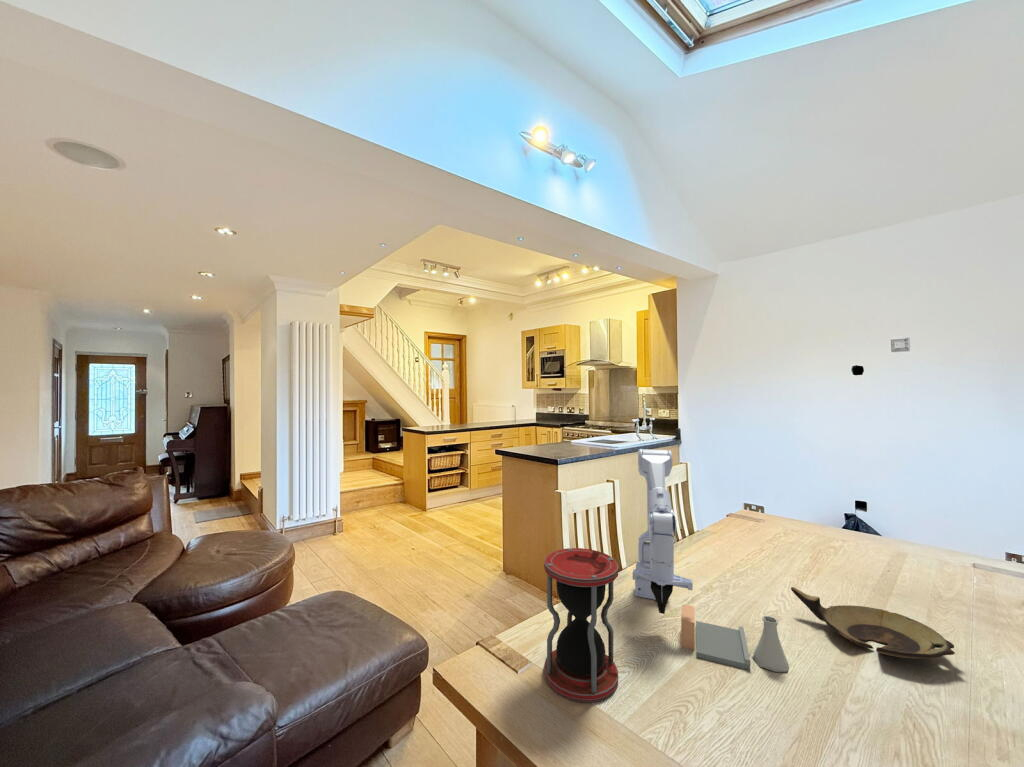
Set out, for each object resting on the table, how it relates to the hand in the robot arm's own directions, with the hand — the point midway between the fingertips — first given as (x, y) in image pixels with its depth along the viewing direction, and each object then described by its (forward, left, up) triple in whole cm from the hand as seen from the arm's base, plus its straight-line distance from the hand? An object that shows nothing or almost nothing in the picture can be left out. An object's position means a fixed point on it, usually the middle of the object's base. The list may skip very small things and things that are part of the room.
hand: (661, 611), depth 106 cm
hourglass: (-15, -24, -6) cm, 29 cm away
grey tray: (+14, 0, -5) cm, 15 cm away
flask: (+24, -2, -6) cm, 24 cm away
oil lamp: (+48, +19, -6) cm, 52 cm away
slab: (+6, 0, -6) cm, 8 cm away
